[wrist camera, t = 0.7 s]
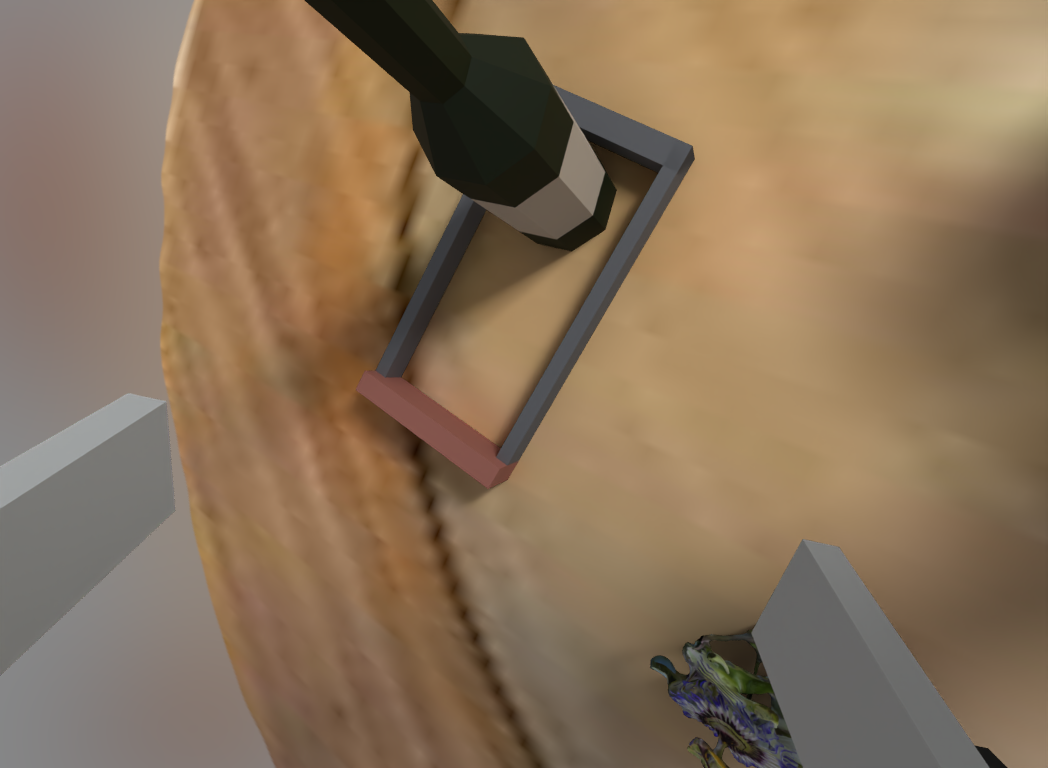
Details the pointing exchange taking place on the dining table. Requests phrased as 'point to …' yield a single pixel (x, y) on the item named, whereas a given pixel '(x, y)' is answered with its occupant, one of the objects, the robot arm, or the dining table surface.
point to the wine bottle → (486, 118)
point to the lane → (499, 463)
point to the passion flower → (729, 707)
